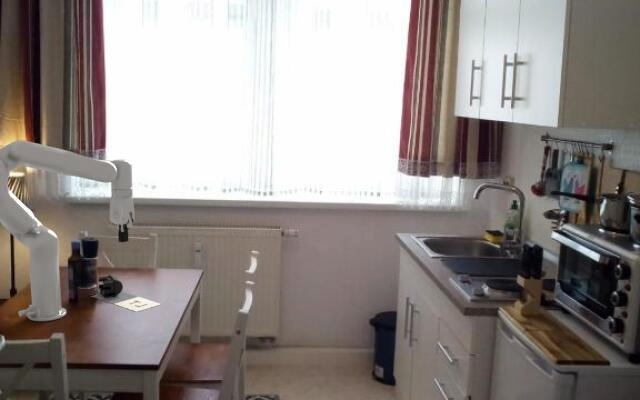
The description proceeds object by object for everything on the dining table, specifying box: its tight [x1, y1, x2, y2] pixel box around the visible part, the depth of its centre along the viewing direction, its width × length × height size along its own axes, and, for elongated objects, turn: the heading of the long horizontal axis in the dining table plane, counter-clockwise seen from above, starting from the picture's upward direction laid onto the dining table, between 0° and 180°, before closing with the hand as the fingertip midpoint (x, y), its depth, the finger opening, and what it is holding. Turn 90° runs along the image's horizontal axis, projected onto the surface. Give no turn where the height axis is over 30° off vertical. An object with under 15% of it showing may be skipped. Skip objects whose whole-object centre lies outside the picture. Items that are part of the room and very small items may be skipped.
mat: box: [91, 290, 138, 305], centre depth 258 cm, size 11×16×1 cm
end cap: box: [97, 273, 124, 298], centre depth 260 cm, size 10×7×7 cm
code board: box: [114, 296, 162, 313], centre depth 249 cm, size 11×14×1 cm
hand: (123, 241), depth 250 cm, fingers closed
